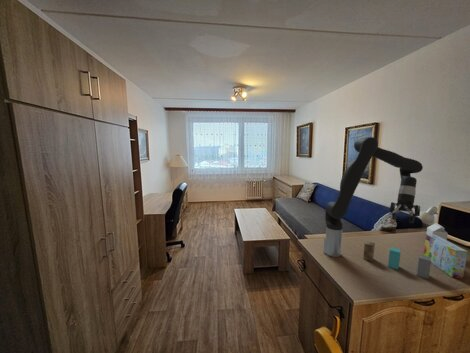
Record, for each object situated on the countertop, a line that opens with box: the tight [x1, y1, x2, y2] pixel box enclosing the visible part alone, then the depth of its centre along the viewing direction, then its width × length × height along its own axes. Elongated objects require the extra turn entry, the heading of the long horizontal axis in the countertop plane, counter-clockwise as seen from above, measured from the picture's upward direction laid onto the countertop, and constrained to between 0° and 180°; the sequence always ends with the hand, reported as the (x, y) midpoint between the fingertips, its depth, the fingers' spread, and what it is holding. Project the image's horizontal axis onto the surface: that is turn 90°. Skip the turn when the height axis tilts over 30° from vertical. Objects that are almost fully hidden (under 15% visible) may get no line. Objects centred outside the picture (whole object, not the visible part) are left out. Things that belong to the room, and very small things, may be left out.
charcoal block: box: [416, 254, 432, 280], centre depth 104 cm, size 4×4×10 cm
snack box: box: [423, 234, 469, 279], centre depth 111 cm, size 21×6×15 cm, turn 168°
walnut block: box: [362, 240, 376, 262], centre depth 120 cm, size 4×4×10 cm
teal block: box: [387, 246, 402, 270], centre depth 112 cm, size 4×4×10 cm
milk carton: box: [425, 222, 448, 241], centre depth 127 cm, size 7×7×19 cm
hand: (402, 221), depth 116 cm, fingers open, 8 cm apart
